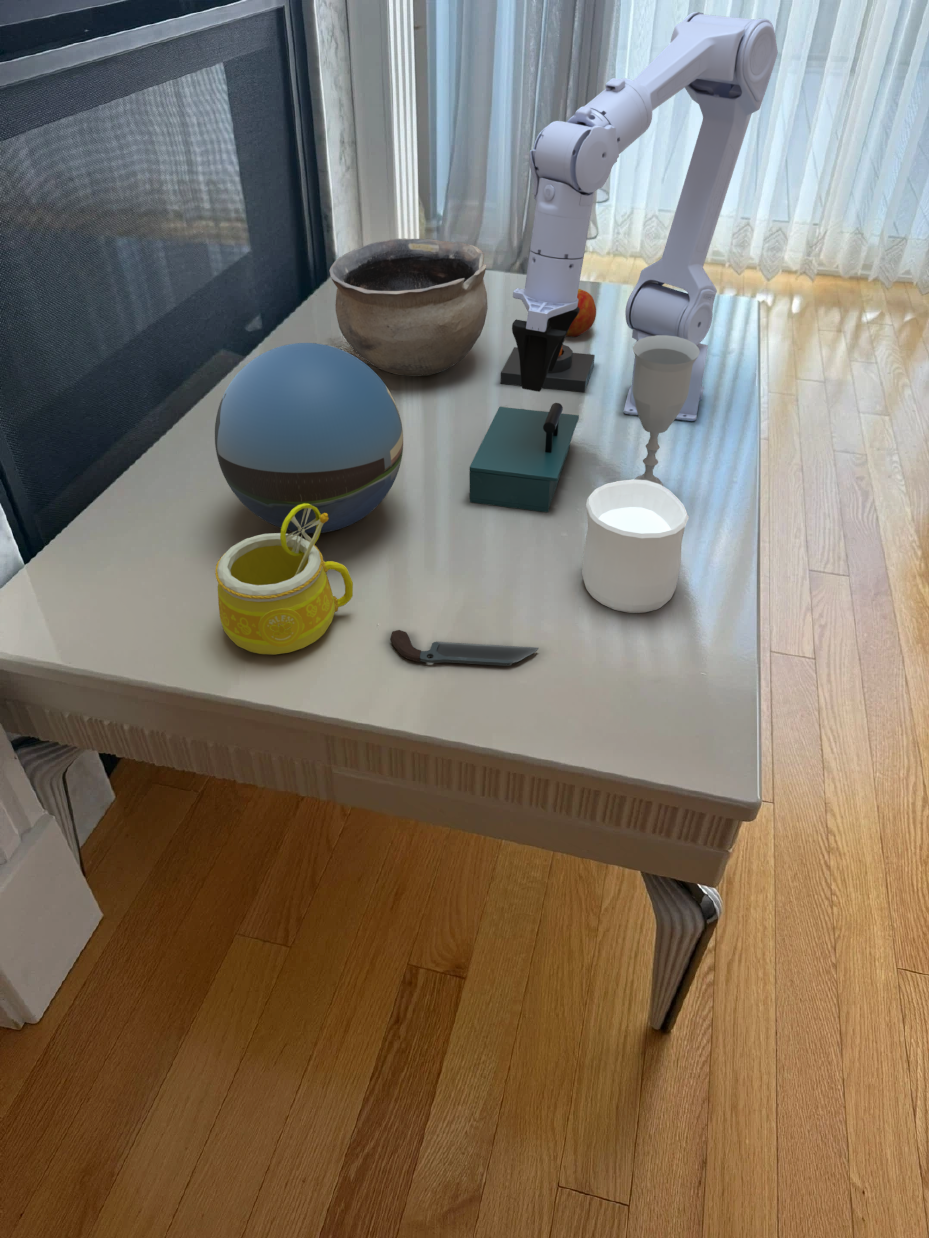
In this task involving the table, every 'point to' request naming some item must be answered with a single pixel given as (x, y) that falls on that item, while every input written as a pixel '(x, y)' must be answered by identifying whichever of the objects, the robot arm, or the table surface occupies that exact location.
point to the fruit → (583, 314)
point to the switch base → (555, 371)
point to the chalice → (660, 387)
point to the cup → (633, 545)
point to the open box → (512, 490)
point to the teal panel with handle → (526, 443)
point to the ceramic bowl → (411, 303)
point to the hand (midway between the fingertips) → (537, 379)
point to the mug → (278, 589)
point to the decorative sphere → (309, 436)
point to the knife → (461, 652)
